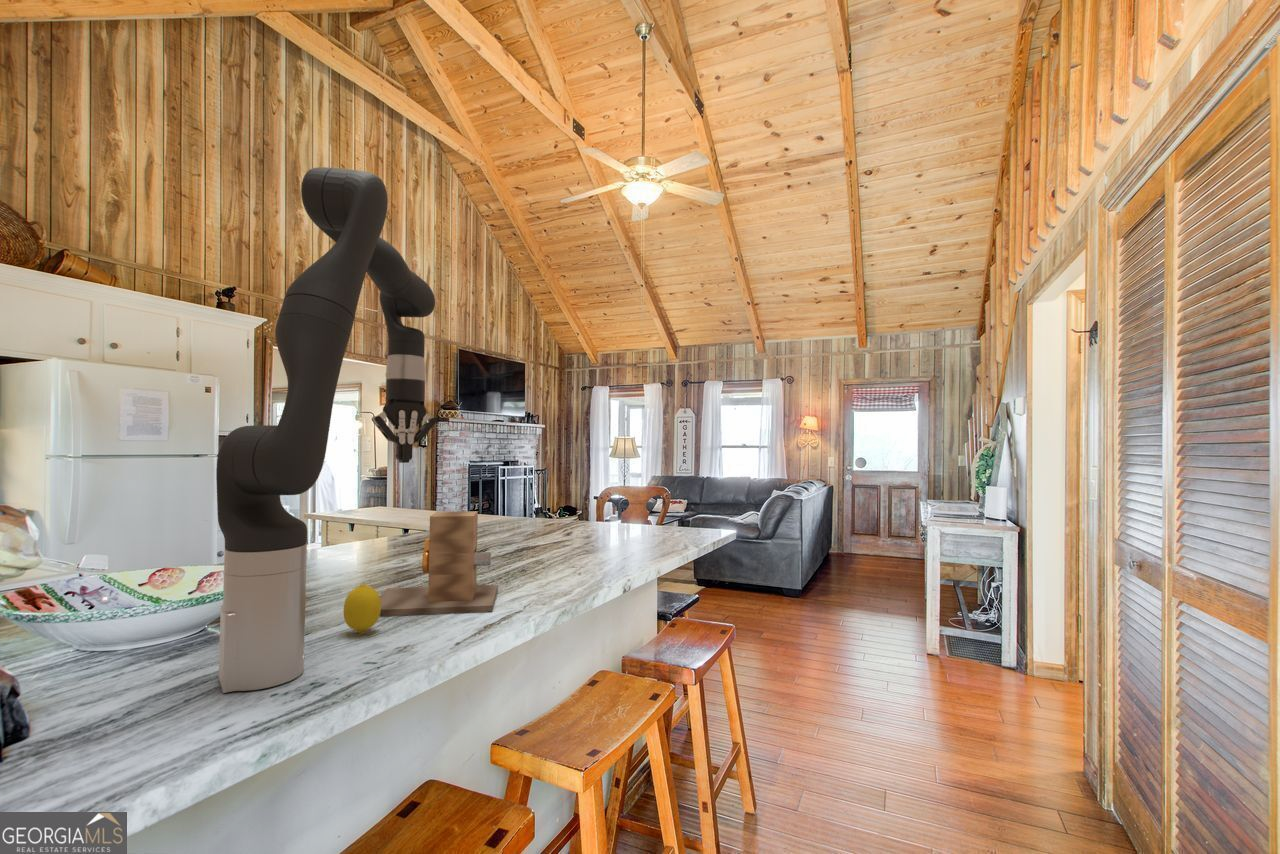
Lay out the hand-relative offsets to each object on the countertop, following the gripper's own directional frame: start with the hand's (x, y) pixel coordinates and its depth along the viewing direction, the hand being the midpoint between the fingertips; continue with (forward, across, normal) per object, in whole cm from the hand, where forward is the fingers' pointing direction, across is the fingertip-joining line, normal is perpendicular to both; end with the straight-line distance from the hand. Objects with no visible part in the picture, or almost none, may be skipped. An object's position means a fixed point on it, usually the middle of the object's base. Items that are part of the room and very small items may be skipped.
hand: (404, 462), depth 120 cm
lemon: (+27, -13, -21) cm, 37 cm away
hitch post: (+27, +3, -11) cm, 29 cm away
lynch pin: (+21, +7, -12) cm, 25 cm away
